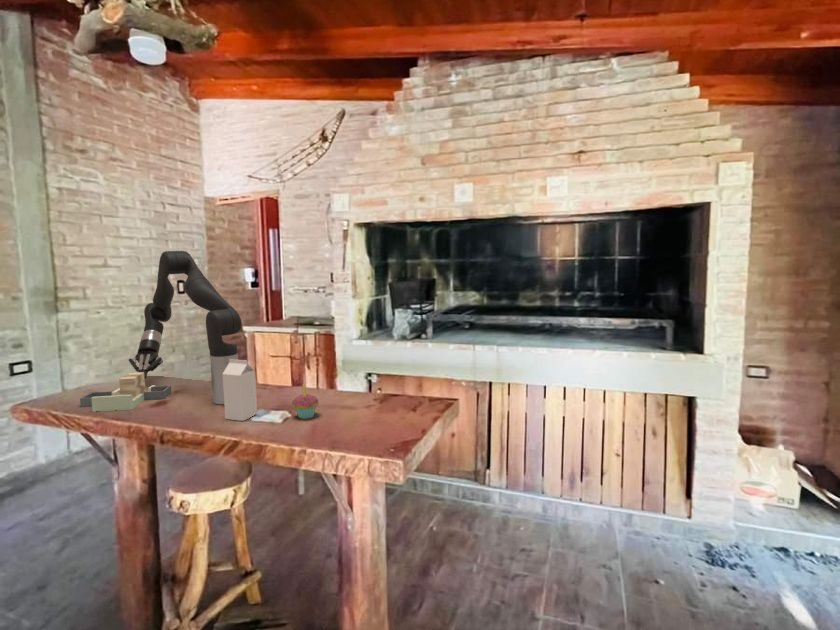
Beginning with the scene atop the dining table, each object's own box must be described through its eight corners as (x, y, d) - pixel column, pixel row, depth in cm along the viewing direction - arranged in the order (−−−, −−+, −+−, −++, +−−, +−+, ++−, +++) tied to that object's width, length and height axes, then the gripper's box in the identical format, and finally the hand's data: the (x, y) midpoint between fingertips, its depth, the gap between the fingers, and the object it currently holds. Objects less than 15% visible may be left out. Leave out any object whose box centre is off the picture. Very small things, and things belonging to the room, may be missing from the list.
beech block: (131, 393, 193) (130, 372, 192) (145, 392, 194) (144, 372, 193) (120, 400, 183) (119, 379, 182) (135, 399, 184) (133, 378, 183)
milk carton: (243, 421, 158) (239, 362, 156) (225, 419, 161) (221, 361, 158) (257, 414, 165) (254, 358, 162) (240, 412, 167) (236, 357, 165)
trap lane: (101, 394, 192) (100, 381, 191) (174, 390, 196) (174, 378, 195) (70, 413, 169) (68, 398, 168) (153, 408, 173) (152, 394, 172)
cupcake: (318, 419, 159) (317, 383, 157) (291, 421, 158) (289, 384, 156) (319, 411, 167) (318, 376, 166) (293, 413, 166) (291, 377, 164)
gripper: (129, 338, 203) (119, 375, 192) (164, 337, 205) (156, 373, 194) (136, 349, 209) (126, 385, 198) (169, 347, 211) (162, 383, 200)
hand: (141, 379), depth 196 cm, fingers closed
